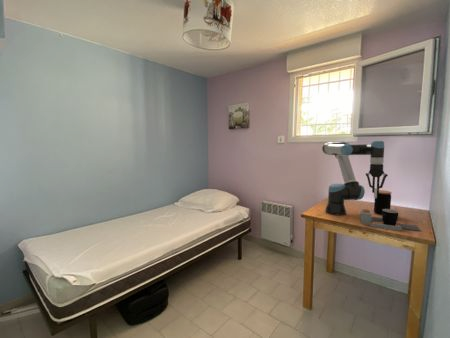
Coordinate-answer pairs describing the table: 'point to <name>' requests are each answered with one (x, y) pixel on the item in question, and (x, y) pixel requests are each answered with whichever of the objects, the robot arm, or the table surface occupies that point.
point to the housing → (367, 219)
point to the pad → (409, 227)
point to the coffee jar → (382, 201)
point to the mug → (389, 216)
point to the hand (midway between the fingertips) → (375, 197)
